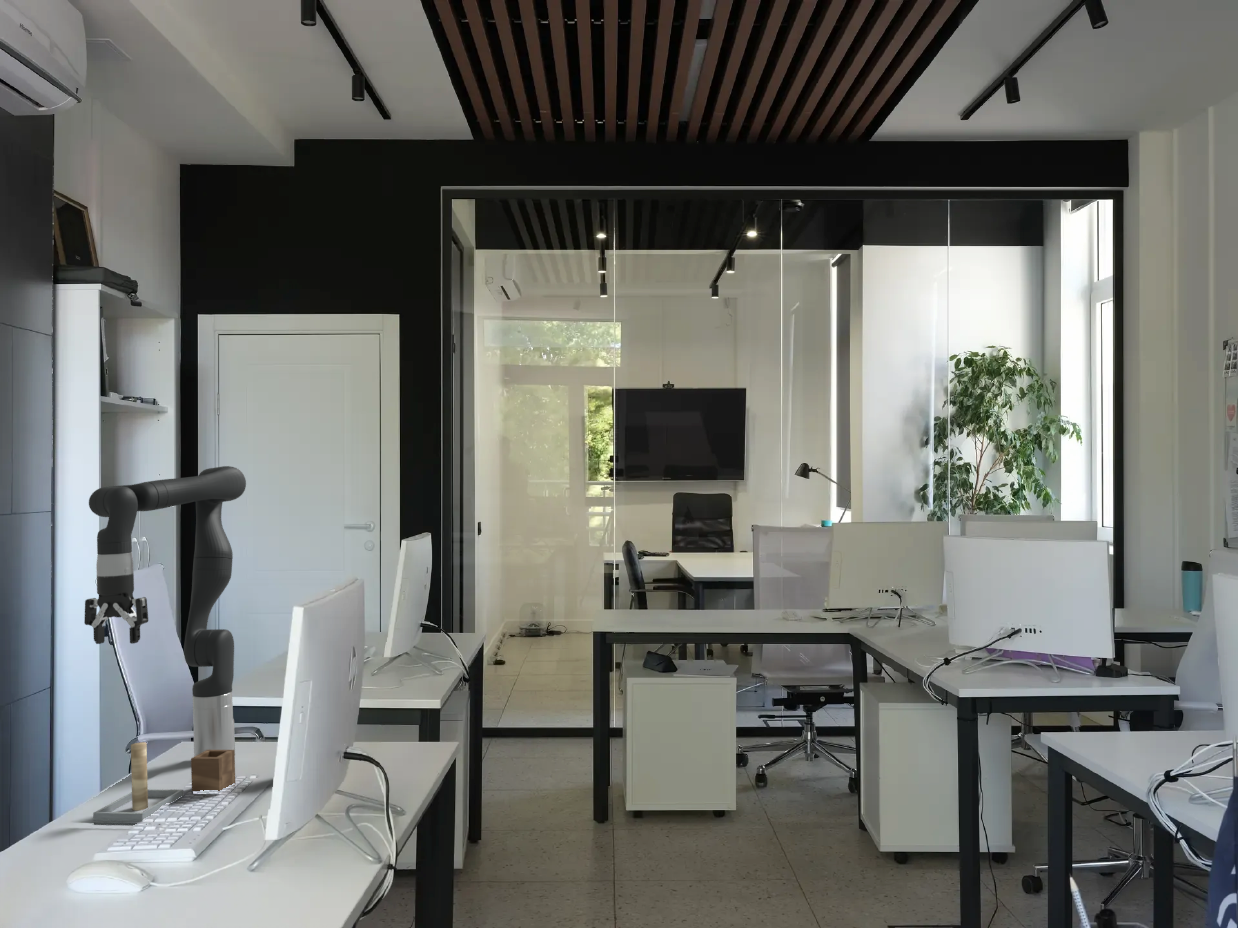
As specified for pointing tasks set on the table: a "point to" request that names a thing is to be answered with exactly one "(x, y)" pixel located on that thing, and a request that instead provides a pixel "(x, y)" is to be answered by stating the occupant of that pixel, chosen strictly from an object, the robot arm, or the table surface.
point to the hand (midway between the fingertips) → (117, 643)
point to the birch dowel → (139, 776)
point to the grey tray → (108, 815)
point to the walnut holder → (213, 770)
